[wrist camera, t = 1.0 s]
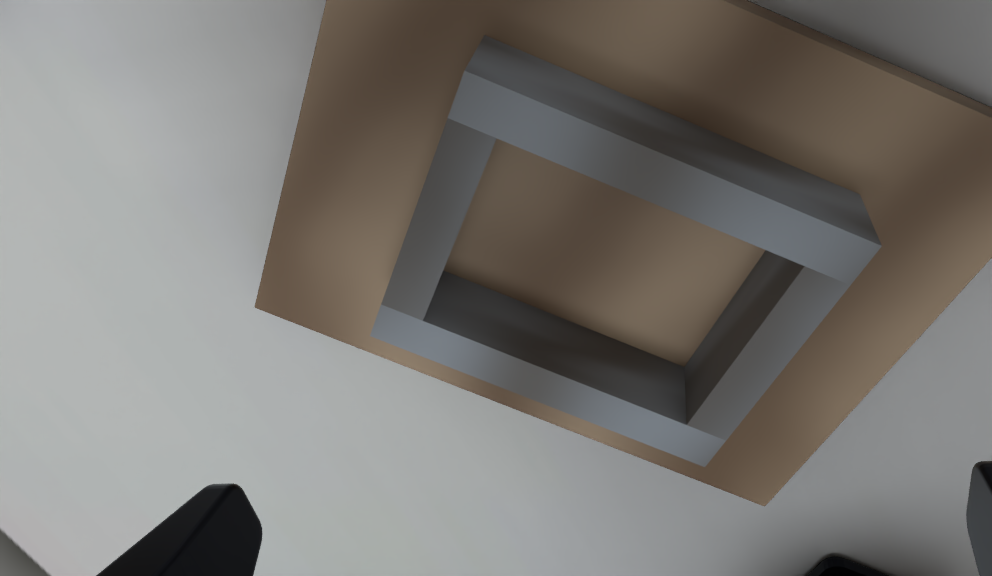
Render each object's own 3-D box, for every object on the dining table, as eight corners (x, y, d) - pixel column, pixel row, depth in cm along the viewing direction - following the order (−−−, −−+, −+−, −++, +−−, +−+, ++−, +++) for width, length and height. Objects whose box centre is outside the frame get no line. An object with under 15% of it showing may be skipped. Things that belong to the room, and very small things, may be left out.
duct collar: (1065, 140, 20) (1132, 209, 17) (761, 483, 28) (773, 569, 25) (376, -162, 19) (325, -143, 16) (266, 289, 27) (220, 357, 24)
